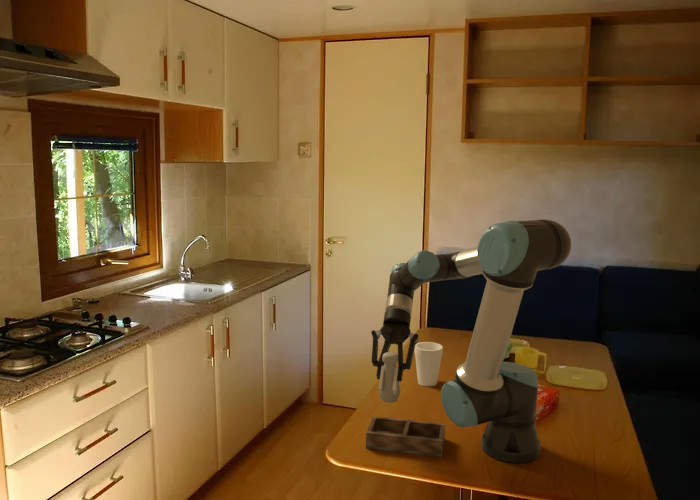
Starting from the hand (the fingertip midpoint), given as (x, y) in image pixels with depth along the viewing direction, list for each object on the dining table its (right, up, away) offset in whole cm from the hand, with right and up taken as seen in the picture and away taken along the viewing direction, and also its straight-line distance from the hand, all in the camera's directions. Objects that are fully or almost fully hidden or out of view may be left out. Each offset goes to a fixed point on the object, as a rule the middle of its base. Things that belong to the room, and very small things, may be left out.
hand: (387, 391), depth 161 cm
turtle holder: (+46, -5, +75) cm, 88 cm away
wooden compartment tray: (+5, -15, +5) cm, 17 cm away
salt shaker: (+1, -3, +4) cm, 6 cm away
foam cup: (+17, -8, +48) cm, 52 cm away
